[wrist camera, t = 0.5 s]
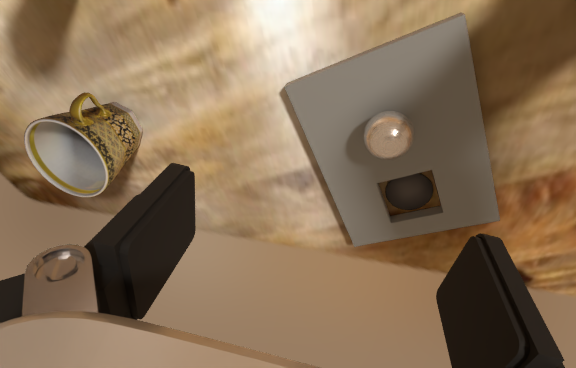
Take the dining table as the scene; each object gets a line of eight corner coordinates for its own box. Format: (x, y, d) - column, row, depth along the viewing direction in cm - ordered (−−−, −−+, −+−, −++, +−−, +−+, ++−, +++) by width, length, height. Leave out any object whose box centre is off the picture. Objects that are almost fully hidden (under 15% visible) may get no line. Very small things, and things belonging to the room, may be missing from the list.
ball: (405, 97, 34) (410, 114, 30) (416, 138, 36) (422, 161, 32) (357, 112, 36) (356, 131, 32) (371, 151, 38) (371, 174, 34)
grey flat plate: (461, 12, 30) (464, 14, 29) (496, 212, 41) (500, 220, 40) (287, 83, 37) (284, 87, 36) (354, 239, 48) (354, 246, 46)
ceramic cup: (147, 169, 49) (102, 210, 40) (83, 137, 48) (24, 172, 39) (167, 93, 41) (116, 125, 33) (92, 53, 40) (21, 75, 32)
